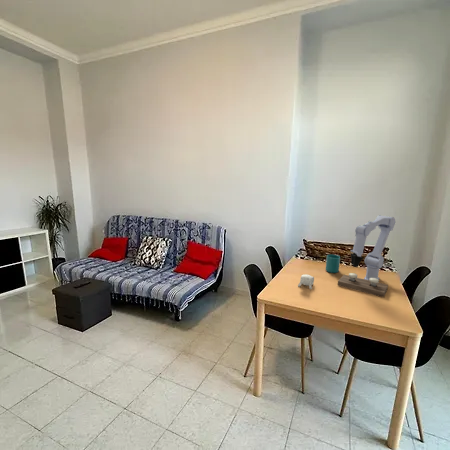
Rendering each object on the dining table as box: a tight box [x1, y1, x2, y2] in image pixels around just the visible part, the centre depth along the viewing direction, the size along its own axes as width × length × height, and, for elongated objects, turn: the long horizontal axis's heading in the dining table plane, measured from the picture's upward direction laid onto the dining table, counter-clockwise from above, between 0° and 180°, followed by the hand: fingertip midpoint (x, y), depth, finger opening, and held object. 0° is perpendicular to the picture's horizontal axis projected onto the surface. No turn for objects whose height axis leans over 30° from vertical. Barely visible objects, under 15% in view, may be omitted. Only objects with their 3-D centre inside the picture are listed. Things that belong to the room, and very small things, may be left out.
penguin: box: [297, 274, 315, 290], centre depth 169 cm, size 9×8×15 cm
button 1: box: [348, 272, 358, 282], centre depth 172 cm, size 5×5×4 cm
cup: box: [325, 254, 341, 274], centre depth 197 cm, size 9×12×11 cm
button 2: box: [369, 278, 380, 287], centre depth 165 cm, size 5×5×4 cm
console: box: [337, 274, 389, 298], centre depth 170 cm, size 14×26×3 cm, turn 51°
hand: (354, 265), depth 169 cm, fingers open, 7 cm apart
